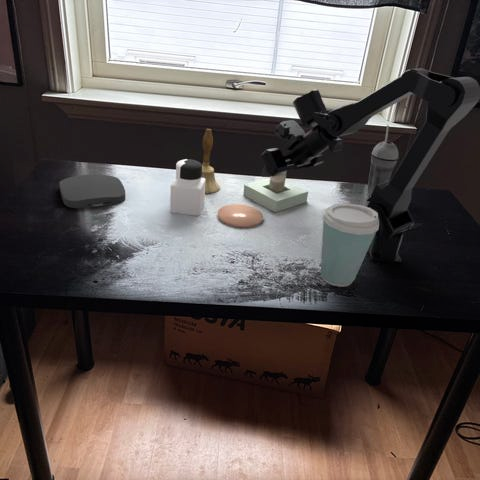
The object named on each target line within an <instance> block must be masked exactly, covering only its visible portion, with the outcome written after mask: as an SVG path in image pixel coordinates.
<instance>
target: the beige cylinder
mask: <svg viewBox="0 0 480 480" xmlns="http://www.w3.org/2000/svg"><path fill="white" fill-rule="evenodd" d="M287 171H288V170H287ZM287 171H286V172H284V173H282V174H281V175H278V176H273V177H272V176H269V178H270V182H269V190H270V191H272V192H274V193H276V194H277V193H281V192H284V185H285V181H286V179H287Z"/></svg>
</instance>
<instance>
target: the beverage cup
mask: <svg viewBox="0 0 480 480" xmlns="http://www.w3.org/2000/svg"><path fill="white" fill-rule="evenodd" d="M389 126H390V125H389V124H387V125H386V130H385V131H386V132H385V139H384V141H381V142H378V144H376V145H375V146H374V147H373V150H372V152H371V157H370V168H369V169H370V170H369V175H368V182H367V191H366V194H367V193H368V194H369V195H370V196H371V195H372V193H373V190H374V188H375V186H376V185H379V184H382V183H385V182H388V181H390V180H391V176H392V173H393V170H394V169H395V167H396V164H397V163H398V160H399V150H398V147H397V145H396V144H395V143H393V142H392V141H389V140H388V137H389V128H390V127H389ZM370 196H369V197H370Z"/></svg>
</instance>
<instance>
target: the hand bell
mask: <svg viewBox="0 0 480 480" xmlns="http://www.w3.org/2000/svg"><path fill="white" fill-rule="evenodd" d="M213 143H214V136H213V132H212V129H211V128H206V129H205V132H204V135H203V138H202V149H203V160H202V178H205V179H206V182H205V194H213V193H216V192H219V191H220V190H221V187H220V184H219V183H218V182H217V180H216V177H215V169H214V167H212V166H210V159H211V158H210V157H211V156H210V155H211V151H212V148H213V146H214V145H213Z"/></svg>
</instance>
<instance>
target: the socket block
mask: <svg viewBox="0 0 480 480" xmlns="http://www.w3.org/2000/svg"><path fill="white" fill-rule="evenodd" d="M269 182H270V177H268V178H267V177H266V178H264V179H260V180H256V181H252V182H249V183H245V184H243V192H242V193H243V194H242V195H243V196H245V197H246V198H248V199H251V201H254V202H255V203H257V204H260V205H262V206H264V207H265V208H267V209H268V210H270V211H272V212H274V213H277V212H279V211H283V210H287V209H289V208H292V207H295V206H298V205H301V204H304V203H307V202H308V196H309V191H308V190H306V189H304V188H302V187H300V186H298V185H295V184H294V183H292V182H289V181H287V180H285V185H284V192H281V193H277V194H276V193H274V192H272V191H270V190H269Z"/></svg>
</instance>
